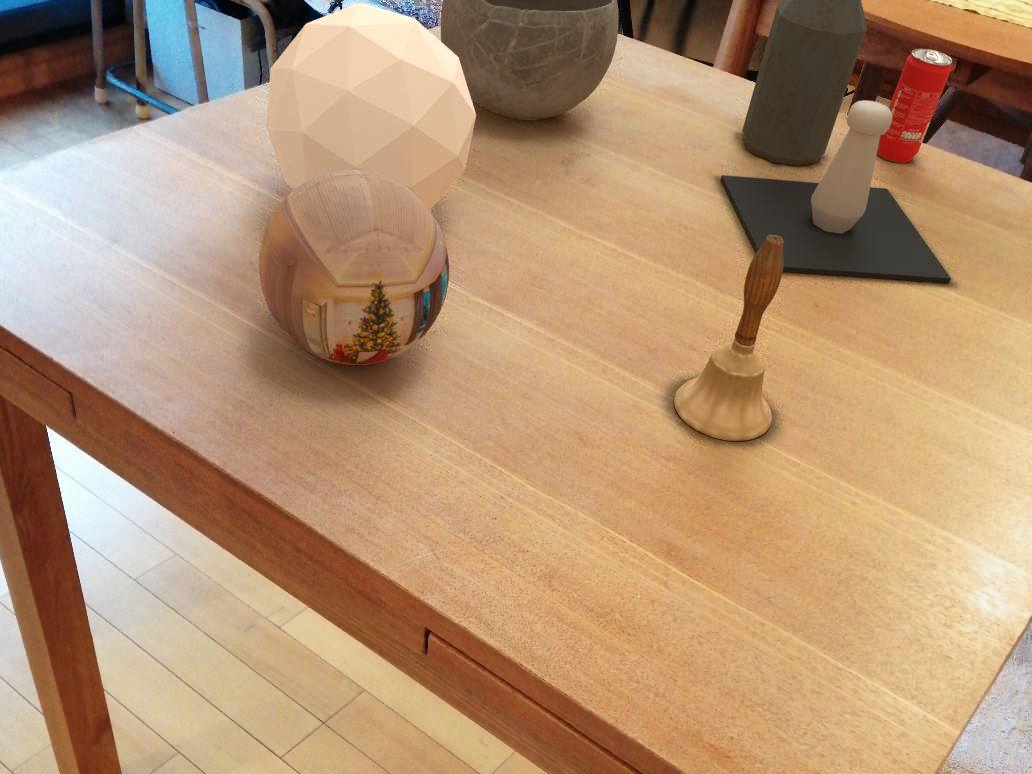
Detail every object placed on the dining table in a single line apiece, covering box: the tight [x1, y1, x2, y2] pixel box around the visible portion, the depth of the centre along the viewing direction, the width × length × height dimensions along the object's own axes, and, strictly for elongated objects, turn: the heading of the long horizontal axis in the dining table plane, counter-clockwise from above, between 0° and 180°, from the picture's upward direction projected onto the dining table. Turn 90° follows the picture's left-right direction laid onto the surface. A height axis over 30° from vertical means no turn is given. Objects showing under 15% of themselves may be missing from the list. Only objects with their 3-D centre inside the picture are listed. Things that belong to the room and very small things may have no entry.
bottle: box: [741, 0, 868, 167], centre depth 123 cm, size 10×10×30 cm
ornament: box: [258, 170, 450, 366], centre depth 87 cm, size 15×15×15 cm
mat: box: [720, 174, 952, 284], centre depth 118 cm, size 20×20×1 cm
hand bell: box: [673, 235, 784, 442], centre depth 86 cm, size 8×8×16 cm
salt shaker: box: [811, 99, 893, 234], centre depth 114 cm, size 6×6×13 cm
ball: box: [266, 2, 477, 211], centre depth 103 cm, size 19×20×20 cm
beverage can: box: [877, 48, 953, 164], centre depth 131 cm, size 5×5×12 cm
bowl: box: [440, 0, 619, 121], centre depth 127 cm, size 20×20×15 cm
